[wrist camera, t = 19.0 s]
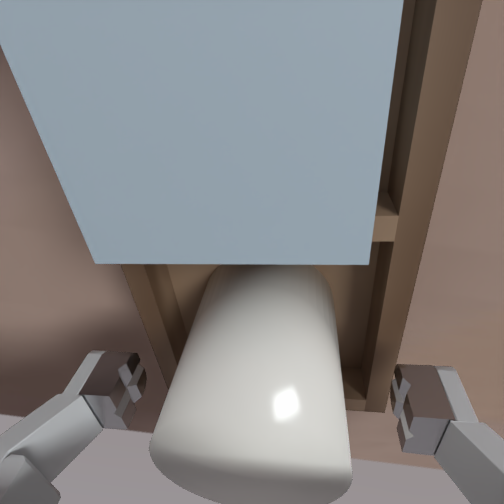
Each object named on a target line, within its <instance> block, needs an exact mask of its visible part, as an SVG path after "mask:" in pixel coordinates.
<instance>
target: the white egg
mask: <svg viewBox="0 0 504 504" xmlns="http://www.w3.org/2000/svg"><path fill="white" fill-rule="evenodd" d="M149 451H150V456H151V458H152V460H153V462H154V464H155V465H156V467H157V468H158V469H159V470H160V471H161V472H162V473H163V474H164V475H165V476H166V477H167V478H168V479H170V480H171V481H172V482H174V483H175V484H177V485H179V486H180V487H182V488H184V489H186V490H187V491H190V492H191V493H194V494H196V495H198V496H201V497H203V498H206V499H209V500H212V501H214V502H218V503H221V504H329V503H331V502H333V501H335V500H337V499H338V498H340V497H341V496H342V495H343V494H344V493H345V492H347V490H348V489H349V487H350V485H351V482H352V466H351V455H350V446H349V437H348V428H347V419H346V409H345V400H344V391H343V382H342V372H341V363H340V354H339V345H338V335H337V326H336V317H335V308H334V298H333V294H332V290H331V288H330V285H329V283H328V282H327V280H326V278H325V277H324V276H323V275H322V274H321V273H320V272H319V271H318V270H317V269H316V268H315V267H314V266H312V265H275V264H221V265H220V266H219V267H217V269H216V270H215V271H214V272H213V273H212V275H211V277H210V279H209V281H208V283H207V286H206V289H205V292H204V294H203V297H202V300H201V303H200V305H199V308H198V311H197V314H196V316H195V319H194V322H193V325H192V328H191V330H190V333H189V336H188V339H187V341H186V344H185V347H184V350H183V352H182V355H181V358H180V361H179V363H178V366H177V369H176V372H175V374H174V377H173V380H172V383H171V386H170V388H169V391H168V394H167V397H166V399H165V402H164V405H163V408H162V410H161V413H160V416H159V419H158V421H157V424H156V427H155V430H154V432H153V435H152V438H151V441H150V446H149Z"/></svg>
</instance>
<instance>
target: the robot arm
mask: <svg viewBox="0 0 504 504" xmlns="http://www.w3.org/2000/svg"><path fill="white" fill-rule="evenodd" d="M139 361H140V358H139V356H138V354H137V353H130V352H115V351H100V350H92V351H91V352H90V353H88V354H87V356H86V357H85V359H84V361H83V362H82V364H81V365H80V367H79V368H78V370H77V371H76V373H75V375H74V376H73V378H72V379H71V381H70V382H69V384H68V385H67V387H66V389H65V390H64V392H63V393H62V394H57V395H56V396H54V397H53V398H51V399H50V400H49V401H47V402H46V403H44V404H43V405H42V406H40V407H39V408H37V409H36V410H35V411H33V412H32V413H30V414H29V415H28V416H26V417H25V418H23V419H22V420H21V421H19V422H18V423H16V424H15V425H14V426H12V427H11V428H9V429H8V430H7V431H5V432H4V433H2V434H1V435H0V504H58V502H59V500H60V498H61V497H60V492H59V491H58V490H57V489H56V488H55V487H54V486H53V485H52V484H51V482H52V481H53V480H54V479H55V478H56V477H57V475H59V474H60V473H61V472H62V471H63V470H64V469H65V468H66V467H67V466H68V465H69V464H70V462H72V461H73V459H75V458H76V457H77V456H78V454H80V452H81V451H82V450H83V449H84V448H85V447H86V446H87V445H88V444H89V443H90V442H91V441H92V440H93V439H94V438H95V437H96V436H97V435H98V434H99V433H100V432H101V431H102V430H103V428H110V429H128V428H129V425H130V423H131V421H132V418H133V416H134V414H135V411H136V406H135V402H136V401H137V400H138V399H140V398H141V397H142V395H143V392H144V390H145V386H146V380H147V379H146V372H145V369H144V368H143V367H142V366H141V365H139V364H138V363H139ZM394 374H395V378H396V379H394V380H393V381H392V382H391V388H390V398H391V405H392V410H393V414H394V415H395V416H396V417H397V418H398V419H399V422H398V425H397V432H398V436H399V441H400V445H401V449H402V452H406V453H415V454H424V455H433V456H434V458H435V459H436V460H437V462H438V463H439V464H440V465H441V467H442V468H443V469H444V470H445V472H446V473H447V474H448V475H449V477H450V478H451V479H452V480H453V482H454V483H455V484H456V485H457V487H458V488H459V489H460V491H461V492H462V493H463V494H464V496H465V497H466V498H467V499H468V501H469V502H470V503H471V504H504V440H503V439H502V438H501V437H500V436H499V435H498V434H497V433H496V432H495V431H493V430H492V429H491V428H490V427H489V426H488V425H487V424H486V423H481V422H479V421H478V419H477V417H476V415H475V412H474V410H473V408H472V406H471V403H470V401H469V399H468V396H467V394H466V392H465V390H464V387H463V385H462V383H461V380H460V378H459V376H458V374H457V371H456V370H455V369H454V368H453V367H451V366H432V365H407V364H397V365H396V366H395V370H394Z"/></svg>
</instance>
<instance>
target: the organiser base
mask: <svg viewBox="0 0 504 504" xmlns="http://www.w3.org/2000/svg"><path fill="white" fill-rule="evenodd" d="M481 5H482V0H404V1H403V9H402V16H401V24H400V31H399V39H398V46H397V54H396V62H395V69H394V77H393V84H392V92H391V99H390V107H389V115H388V122H387V130H386V137H385V145H384V152H383V160H382V168H381V175H380V183H379V190H378V198H377V206H376V213H375V221H374V228H373V236H372V243H371V251H370V259H369V265H312V266H314V267H315V268H316V269H317V270H318V271H319V272H320V273H321V274H322V275H323V276H324V277H325V278H326V280H327V282H328V283H329V285H330V288H331V290H332V294H333V298H334V308H335V317H336V326H337V335H338V345H339V354H340V363H341V372H342V382H343V391H344V400H345V409H346V410H352V411H367V412H382V413H385V408H386V404H387V400H388V396H389V392H390V387H391V382H392V379H393V375H394V370H395V366H396V362H397V358H398V354H399V349H400V345H401V341H402V337H403V333H404V328H405V324H406V320H407V316H408V312H409V307H410V303H411V299H412V295H413V291H414V286H415V282H416V278H417V274H418V270H419V265H420V261H421V257H422V253H423V249H424V244H425V240H426V236H427V232H428V227H429V223H430V219H431V215H432V211H433V206H434V202H435V198H436V194H437V190H438V185H439V181H440V177H441V173H442V169H443V164H444V160H445V156H446V152H447V148H448V143H449V139H450V135H451V131H452V127H453V122H454V118H455V114H456V110H457V105H458V101H459V97H460V93H461V89H462V84H463V80H464V76H465V72H466V68H467V63H468V59H469V55H470V51H471V47H472V42H473V38H474V34H475V30H476V26H477V21H478V17H479V13H480V9H481ZM220 265H221V264H121V267H122V269H123V272H124V275H125V277H126V280H127V283H128V285H129V288H130V290H131V293H132V296H133V298H134V301H135V303H136V306H137V309H138V311H139V314H140V317H141V319H142V322H143V324H144V327H145V330H146V332H147V335H148V337H149V340H150V343H151V345H152V348H153V351H154V353H155V356H156V358H157V361H158V364H159V366H160V369H161V371H162V374H163V377H164V379H165V382H166V385H167V387H168V390H169V388H170V386H171V383H172V380H173V377H174V374H175V372H176V369H177V366H178V363H179V361H180V358H181V355H182V352H183V350H184V347H185V344H186V341H187V339H188V336H189V333H190V330H191V328H192V325H193V322H194V319H195V316H196V314H197V311H198V308H199V305H200V303H201V300H202V297H203V294H204V292H205V289H206V286H207V283H208V281H209V279H210V277H211V275H212V273H213V272H214V271H215V270H216V269H217V267H219V266H220Z"/></svg>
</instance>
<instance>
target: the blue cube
mask: <svg viewBox="0 0 504 504" xmlns="http://www.w3.org/2000/svg"><path fill="white" fill-rule="evenodd" d="M403 1H404V0H0V45H1V47H2V50H3V52H4V54H5V57H6V59H7V61H8V64H9V66H10V68H11V70H12V73H13V75H14V77H15V80H16V82H17V84H18V87H19V89H20V91H21V93H22V96H23V98H24V100H25V103H26V105H27V107H28V110H29V112H30V114H31V117H32V119H33V121H34V123H35V126H36V128H37V130H38V133H39V135H40V137H41V140H42V142H43V144H44V146H45V149H46V151H47V153H48V156H49V158H50V160H51V163H52V165H53V167H54V170H55V172H56V174H57V176H58V179H59V181H60V183H61V186H62V188H63V190H64V193H65V195H66V197H67V200H68V202H69V204H70V206H71V209H72V211H73V213H74V216H75V218H76V220H77V223H78V225H79V227H80V229H81V232H82V234H83V236H84V239H85V241H86V243H87V246H88V248H89V250H90V253H91V255H92V257H93V259H94V262H95V264H275V265H369V259H370V251H371V243H372V236H373V228H374V221H375V213H376V206H377V198H378V190H379V183H380V175H381V168H382V160H383V152H384V145H385V137H386V130H387V122H388V115H389V107H390V99H391V92H392V84H393V77H394V69H395V62H396V54H397V46H398V39H399V31H400V24H401V16H402V9H403Z"/></svg>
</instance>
